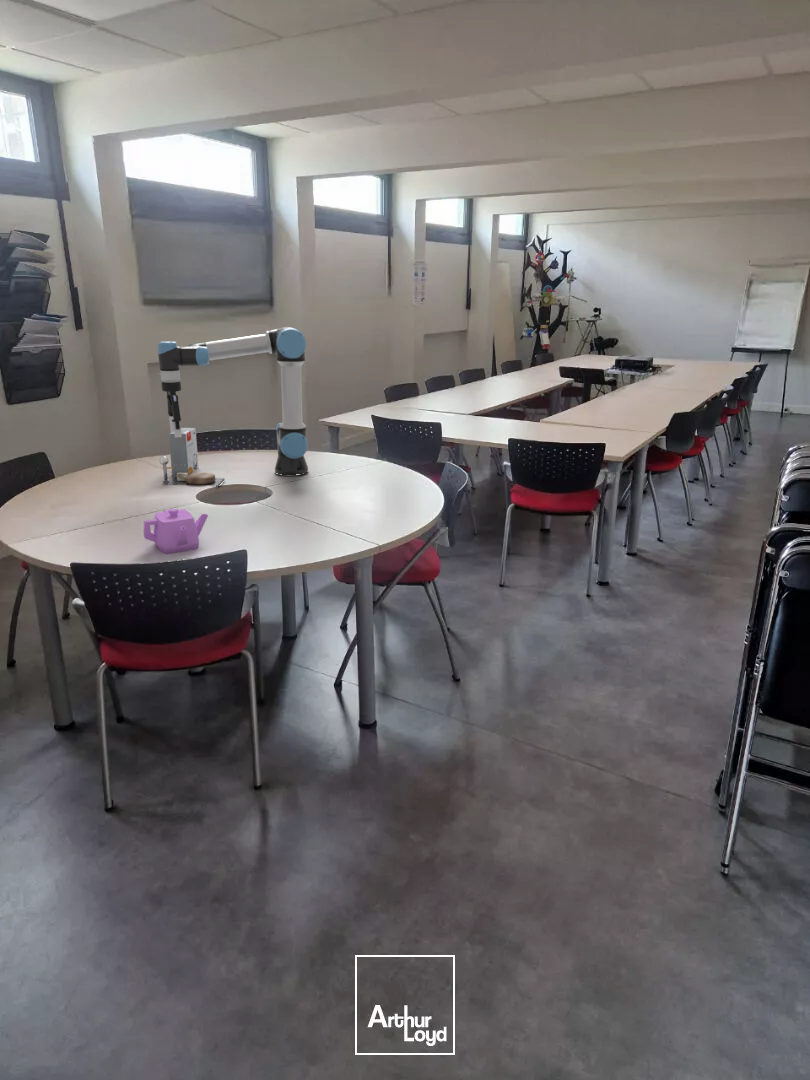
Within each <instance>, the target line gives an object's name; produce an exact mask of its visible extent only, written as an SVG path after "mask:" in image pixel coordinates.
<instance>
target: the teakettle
mask: <svg viewBox="0 0 810 1080" xmlns="http://www.w3.org/2000/svg"><path fill="white" fill-rule="evenodd" d="M208 517H209V514H207V513H201V514H200V516H199V517H198V518H197V520H196V521H195V519H194V516H193V515H192V514H191V512H189V511H188V510H186V509H185V508H183V509H179V508H178V509H177V508H170V509H164V510H163V511H161V512H156V513H155V514H154V518H153V519H147V520H143V537H144V539H145V540H147V541H150V542H154V543H155V544H156V545H155V546H156V547H157V548H158V549H159V551H161V552H162V553H164V554H167V555H168V554H174V553H181V552H186V551H191V550H197V549H199V545H200V539H199V536H200V534H201V532H202V530H203V527H204V526H205V524H206V522H207V519H208ZM151 526H153V532H152V530H151V529H152V528H151Z"/></svg>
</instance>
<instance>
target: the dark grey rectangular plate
mask: <svg viewBox="0 0 810 1080" xmlns="http://www.w3.org/2000/svg"><path fill="white" fill-rule="evenodd" d="M168 479H169V482H166V483H162V484H161V485H162V486H168V485H169V486H172V485H173V486H216V489H217V488H218V486H219V485H220V484H221V483H222V482H223V481H224V480H225V477H215V481H214V482H212V483H208V484H189V483H187V482H186V481H177V476H176V477H175V476H174V477H172V476H170V477H169V478H168ZM218 489H219V488H218Z"/></svg>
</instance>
